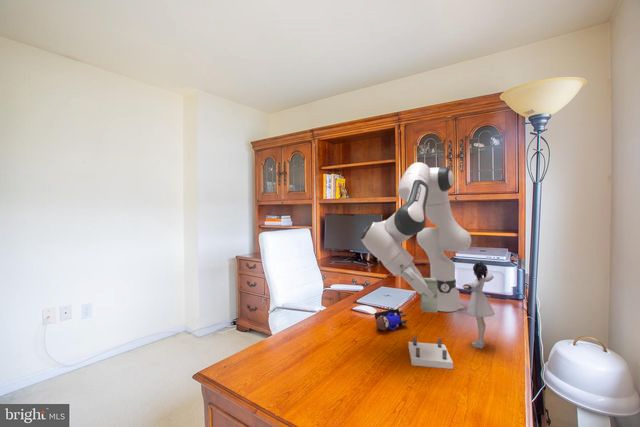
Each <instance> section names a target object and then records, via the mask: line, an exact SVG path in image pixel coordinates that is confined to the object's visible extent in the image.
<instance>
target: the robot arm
mask: <svg viewBox="0 0 640 427" xmlns="http://www.w3.org/2000/svg"><path fill="white" fill-rule="evenodd" d="M454 181H455V176H454V173H453V170H452V169H451V168H450V167H448V166H440V167H437V166H436V167H429V165H428V164H426V163H424V162H421V161H420V162H419V161H418V162H414V163H412V164H410V165H409V166H408V168H407V169H406V170H405V172H404V173H403V175H402V177H401V179H400V181H399V183H398V189H397V194H398V196H399V197H400V199H402V200H403V201H405V202H406V203H404V204H402V205H401V206H399V207H398V209H397V210H396V211H395V212H394V213H393V214H392V215H391V216H389V217H388V218H387V219H384V220H382V221H377V222H375V221H371V222H370V223H368V224H367V226H366V227H365V228H364V229H363V231H362V232H361V234H360V241H361V242H362V244H363V245H364V247H365V248H366V249H367V250H368V251H369V252H370V253H371V254H372V256H374V257H375V258H377V259H378V260H379V261H380V262H381V264H382V265H383V266H384V267H385V269H387V271H389V272H390V273H391V274H392V276H395V277H396V276H399V277H401V278H403V279H404V281H406V282H407V284H408V285H410V287H411V288H412V290H414V291H415V292H416V293H417V294H419V295H421V294H422V293H425V294H426V295H427V296H428V297H429V298H432V297H433V296H434V293H433V292H432V291H431V290H430V289H429V288H428V286H427V284H426V282H425V280H424V279H423V278H424V277H423V276H422V273H421V272H420V270H419V269H418V267H416V266H415V263H414V261H413V260H414V256H413V255H411V253H409V251H408V250H406V248H404V247H403V246H402V245H401V244H403V243H404V242H406V241H408V240H409V239H410V238H411V237H413V236H414V235H416V242H417V244H418V246H420V247H421V248H422V249H423V250H424V252H425V253H426V256H427V257H428V261H429V266H430V277H429V278H435V279H436V280H437V312H438V311H439V312H457V311H458V310H462V309H464V305H463V304H461V303H460V302H461V301H460V298H461V297H460V291H459V290H458V289H457V280H456V265H455V263H454V261H453V260H452V259H451V258H449V257H448V256H447V255H446V254H445V251H448V252H457V253H458V252H466V251H467V250H468V249H469V248H470V247H471V245H472V236H471V234H470V233H469V231H468V230H466V229H464V228H463V227H461V226H460V225H459V224H458V222H457V221H456V219H455V218H454V216H453V212H452V208H451V203H450V196H449V192H448V191H449V190H451V188H453V185H454ZM426 218H427V219H428V221H429V222H430V223H433V225H435V226H436V227H433V226H431V227H430V226H429V227H426V222H427V221H426Z"/></svg>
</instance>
